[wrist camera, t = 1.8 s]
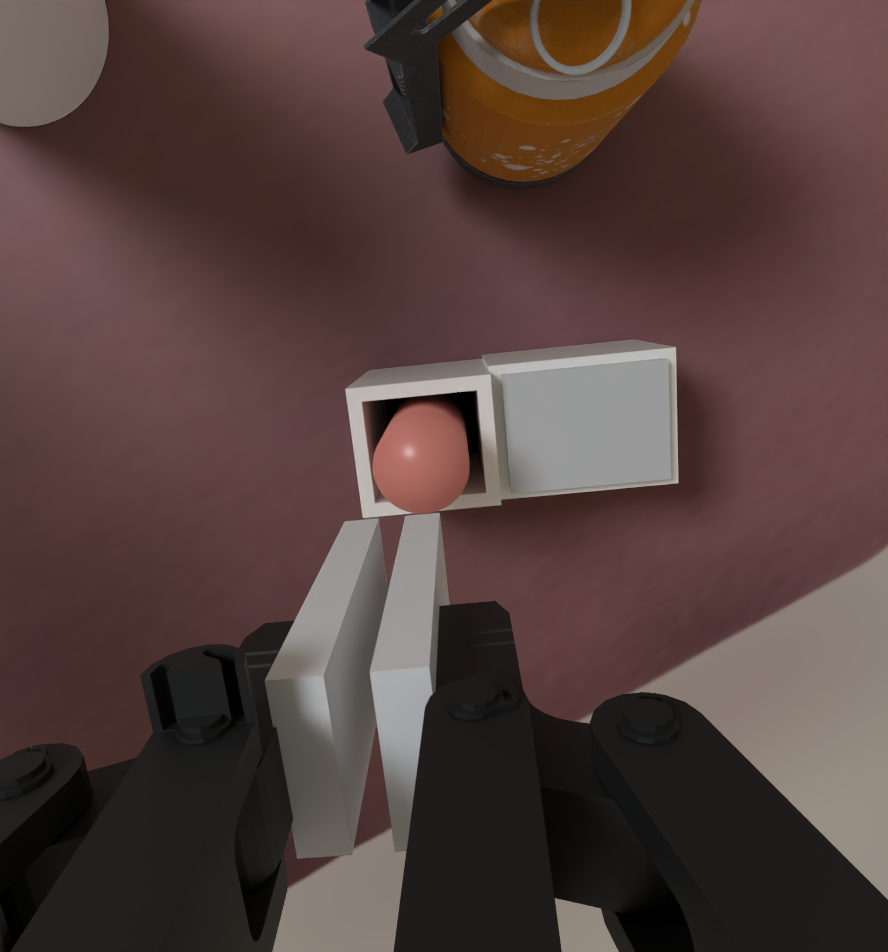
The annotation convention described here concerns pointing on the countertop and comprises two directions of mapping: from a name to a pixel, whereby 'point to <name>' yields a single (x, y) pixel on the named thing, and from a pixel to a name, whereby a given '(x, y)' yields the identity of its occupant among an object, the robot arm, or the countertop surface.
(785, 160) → the countertop surface
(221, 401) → the countertop surface
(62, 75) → the cylinder container
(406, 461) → the salmon pink capsule
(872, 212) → the countertop surface
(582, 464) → the white rectangular box
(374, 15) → the canister
